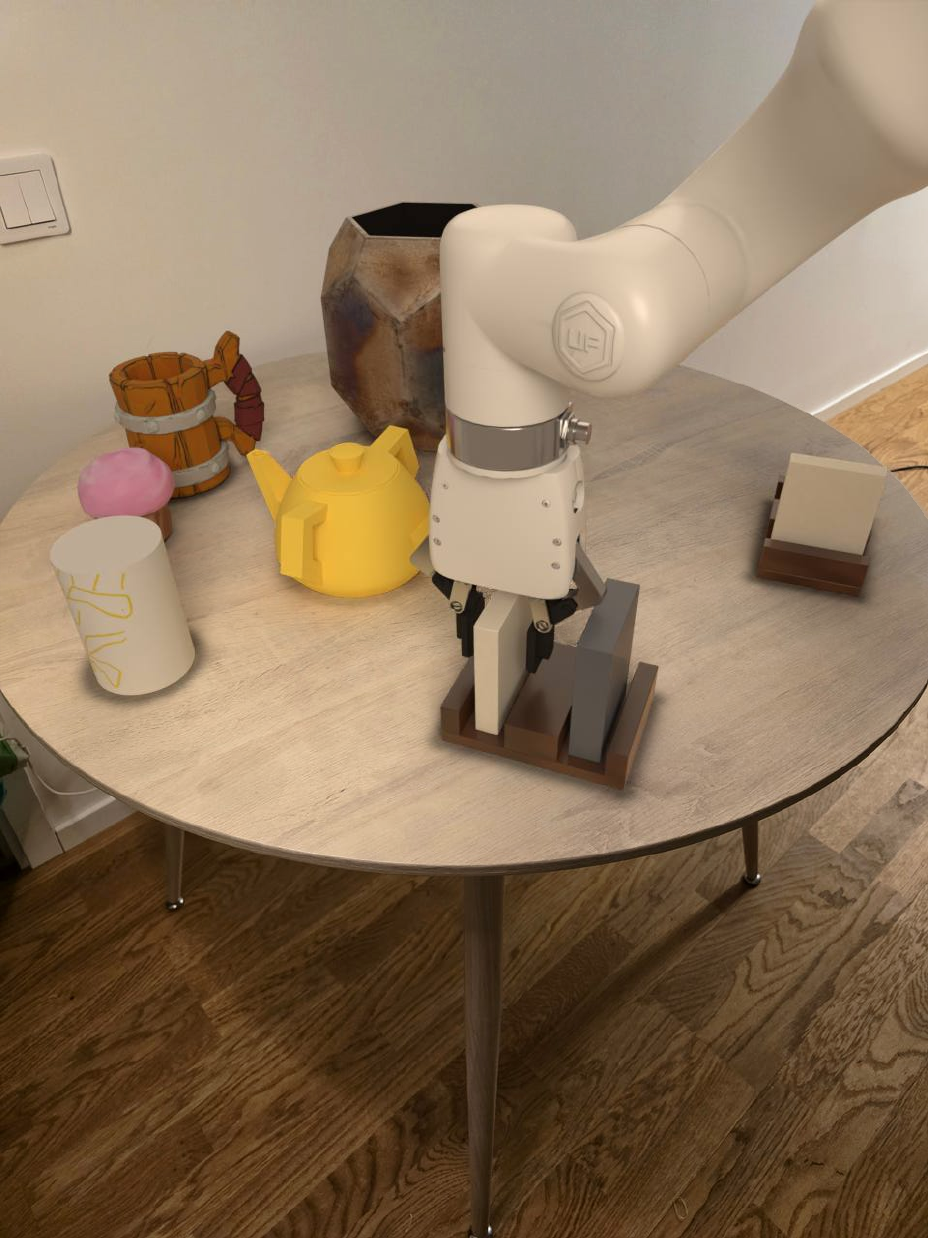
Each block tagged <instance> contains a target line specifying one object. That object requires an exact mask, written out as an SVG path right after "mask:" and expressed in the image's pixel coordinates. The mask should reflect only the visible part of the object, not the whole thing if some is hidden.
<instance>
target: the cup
mask: <svg viewBox="0 0 928 1238" xmlns="http://www.w3.org/2000/svg"><path fill="white" fill-rule="evenodd" d="M49 560H50V563H51V565H52V568H53V571H54V573H55V576H56V578H57V581H58V583H59V586H60V588H61V591H62V593H63V596H64V599H65V601H66V604H67V606H68V609H69V612H70V614H71V617H72V619H73V622H74V625H75V627H76V629H77V632H78V635H79V638H80V640H81V642H82V646H83V648H84V650H85V653H86V655H87V658H88V661H89V663H90V665H91V668H92V671H93V673H94V676H95V679H96V681H97V683H98V684H99V685H100V687H101V688H103V689H104V690H106V691H107V692H110V693H112V694H115V695H120V696H140V695H147V694H151V693H154V692H155V693H156V692H158V691H161V690H163V689H165V688H167V687H170V686H171V685H173V684H174V683H176V682H178V681H179V680H180V679H181V678H183V677H184V676H185V675H186V674H187V673H188V672H189V671H190V669H191V667H192V666H193V664H194V662H195V658H196V650H195V646H194V643H193V638H192V636H191V633H190V629H189V626H188V622H187V618H186V615H185V611H184V607H183V604H182V600H181V597H180V593H179V590H178V587H177V583H176V580H175V576H174V573H173V569H172V565H171V562H170V558H169V555H168V551H167V548H166V544H165V540H163V537H162V533H161V530H160V528H159V527H158V525H157V524H155V523H154V522H153V521H151V520H149V519H146V518H143V517H138V516H128V515H122V516H110V517H104V518H99V519H96V520H95V519H92V520H88V521H87V522H84V523H81V524H79V525H76V526H75V527H72V528H70V529H69V530H67V531H66V532H64V533H63V534H62V535H61V536H60V537H58V538H57V539H56V540H55V542H54V543H53V544H52V546H51V547H50V550H49Z"/></svg>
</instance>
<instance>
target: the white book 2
mask: <svg viewBox="0 0 928 1238" xmlns="http://www.w3.org/2000/svg"><path fill="white" fill-rule="evenodd" d="M888 469H889V467H888V466H883V465H877V464H869V463H862V462H857V461H849V460H843V459H837V458H831V457H824V456H823V457H822V456H817V455H809V454H803V453H797V452H790V455H789V460H788V463H787V468H786V473H785V475H784V476H785V480H784V484H783V489H782V493H781V497H780V501H779V506H778V510H777V514H776V518H775V522H774V527H773V531H772V535H771V539H775V540H780V541H786V542H791V543H797V544H802V545H808V546H814V547H819V548H825V549H830V550H836V551H841V552H847V553H853V554H858V555H863V552H864V549H865V545H866V542H867V539H868V536H869V533H870V530H871V531H872V526H873V523H874V520H875V517H876V514H877V511H878V507H879V505H880V503H881V499H882V495H883V492H884V489H885V486H886V483H887V480H888V472H889V471H888Z"/></svg>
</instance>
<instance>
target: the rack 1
mask: <svg viewBox="0 0 928 1238" xmlns="http://www.w3.org/2000/svg"><path fill="white" fill-rule="evenodd" d="M575 659H576V646H573V645H571V644H570V645H569V644H565V643H561V642H556V641H554V647H553V651H552V654H551V656H550V658H549V660H546V659H542V661H541V663H540V665H539V667H538V669H537V671H536V673H535V674H533V673H529V674H528V676H527V678H526V680H525V682H524V684H523V686H522V688H521V690H520V692H519V694H518V696H517V698H516V700H515V702H514V704H513V706H512V708H511V710H510V712H509V714H508V716H507V718H506V720H505V722H504V724H503V726H502V728H501V730H500V731H499V733H498V735H495V734H491V733H487V732H484V731H480V730H476V725H475V674H474V654H473V656H472V657H471V656H470V657H469V658H468V659H467V660H466V662H465V663H464V666H463V668H462V669H461V671H460V672H459V674H458V676H457V677H456V679H455V681H454V683H453V684H452V686H451V688H450V689H449V691H448V693H447V694H446V696H445V698H444V699H443V701H442V702H441V705H440V706H439V707H440V708H439V711H440V731H441V733H440V734H441V740H442V741H445V742H449V743H452V744H455V745H458V746H462V747H466V748H470V749H473V750H477V751H481V752H484V753H486V754H491V755H494V756H499V757H503V758H506V759H509V760H513V761H515V762H516V761H517V762H521V763H524V764H527V765H530V766H534V767H538V768H542V769H544V770H549V771H552V772H555V773H560V774H563V775H567V776H571V777H574V778H578V779H581V780H585V781H587V782H591V783H595V784H598V785H599V784H600V785H602V786H607V787H610V788H613V789H617V790H620V791H625V788H626V785H627V782H628V779H629V776H630V773H631V769H632V767H633V764H634V760H635V757H636V754H637V751H638V748H639V745H640V741H641V739H642V736H643V732H644V729H645V726H646V723H647V721H648V717H649V715H650V711H651V708H652V705H653V702H654V699H655V693H656V685H657V679H658V673H659V665H656V664H652V663H647V662H643V661H639V662H638V665H637V667H636V670H635V673H634V675H633V677H632V678H633V679H632V681H631V683H629V682H627V689H626V693H625V696H624V699H623V702H622V704H621V707H620V710H619V713H618V715H617V718H616V721H615V724H614V726H613V729H612V732H611V735H610V737H609V740H608V743H607V746H606V748H605V751H604V754H603V757H602V759H601V762H600V763H598V762H594V761H590V760H587V759H583V758H579V757H576V756H572V755H569V754H568V749H569V736H570V723H571V710H572V697H573V684H574V671H575Z"/></svg>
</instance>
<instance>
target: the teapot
mask: <svg viewBox="0 0 928 1238" xmlns="http://www.w3.org/2000/svg"><path fill="white" fill-rule="evenodd" d="M246 458H247V462H248V463H249V466H250V468H251V470H252V473H253V475H254V478H255V480H256V483H257V485H258V487H259V489H260V492H261V495H262V497H263V498H264V501H265V504H266V505H267V508H268V510H269V513H270V515H271V517H272V520H273V522H274V525H275V526H274V549H275V555H276V558H277V561H278V562H279V564H280V571H279V572H280V574H279V575H284V576H287V577H290V578H292V579H294V580H295V581H296V582H299V583H300V584H301V585H303V586H305V587H306V588H308V589H310V590H312V591H315V592H316V593H320V594H323V595H325V596H330V597H335V598H345V599H356V598H357V599H358V598H359V599H360V598H368V597H373V596H378V595H382V594H385V593H387V592H392V591H393V590H395V589H398V588H400V587H401V586H403V585H405V584H406V583H408V582H409V581H411V580H412V579H413V578H414V577H415V576H416V575H418V573H420V572H421V571H420V570H419V569H417V568H416V567H415V566H414V565H413V564H412V563H411V562H410V556H411V555H412V553H413V552H414V551H415V550H416V548H417V547H418V546H419V545H420V543H421V542H422V541H423V540H424V539H425V538H426V536H427V535H428V534H429V511H430V500H428V499H429V498H428V497H427V495H426V494H425V492H424V490H423V488H422V487H421V485H420V484H419V482H418V481H417V480H416V476H417V474H418V471H419V468H420V463H419V461H418V458H417V454H416V450H414V448H413V444H412V441H411V438H410V435H409V431H408V429H404V428H400V427H396V426H392V425H389V427H388V428H387V429H386V430H385V431H384V432H383V433H382V434H381V435H380V436H379V437H378V438H377V440H376V439H375V440H374V441H373V442H372V443H371V445H369V446H368V445H362V444H360V443H357V442H341V443H338V444H335V445H333V446H331V447H330V448H327V449H324V450H322V451H319V452H317V453H314V454H313V455H311V456H310V457H308V458H307V459H305V460H304V462H302V463H301V465H300V466H299V467H298V469H297V470H296V471H295V474H294V475H293V477H291V476H290V475H289V474H288V472H286V470H285V469H283V467H282V466H281V465H280V464H279V463H278V462H277V461H276V460H275V459H274V458H273V456H272V455H271V454H270V452H269V451H266V450H262V449H257V448H255V450H253V451H251V452H250V453H248V454H247V456H246ZM435 519H436V518H435Z"/></svg>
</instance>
